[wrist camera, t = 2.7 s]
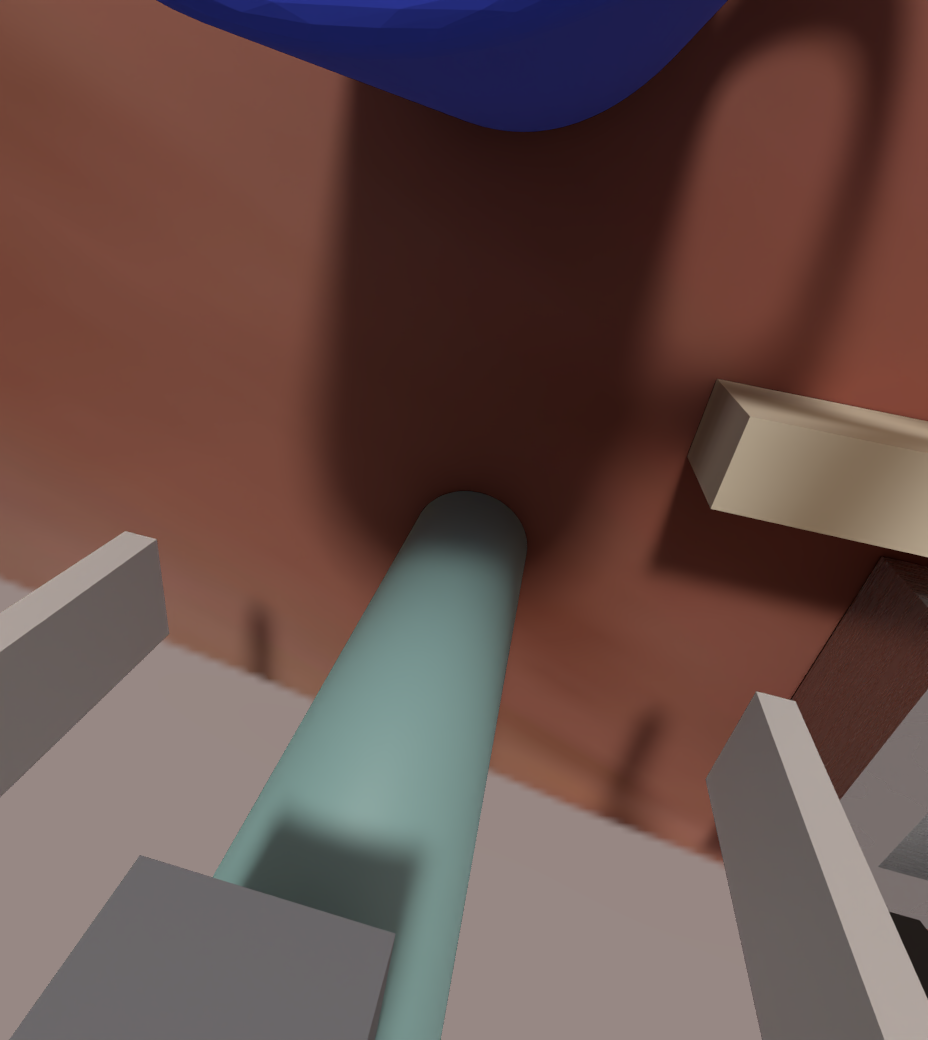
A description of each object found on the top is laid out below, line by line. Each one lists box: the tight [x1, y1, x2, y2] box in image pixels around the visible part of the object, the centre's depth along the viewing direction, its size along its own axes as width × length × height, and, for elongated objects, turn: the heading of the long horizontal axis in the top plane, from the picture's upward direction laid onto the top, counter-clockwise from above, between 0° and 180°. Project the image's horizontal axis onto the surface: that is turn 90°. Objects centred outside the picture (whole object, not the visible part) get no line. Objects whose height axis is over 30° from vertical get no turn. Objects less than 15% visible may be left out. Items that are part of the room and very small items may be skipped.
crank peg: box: [10, 491, 527, 1040], centre depth 11 cm, size 3×8×13 cm, turn 170°
